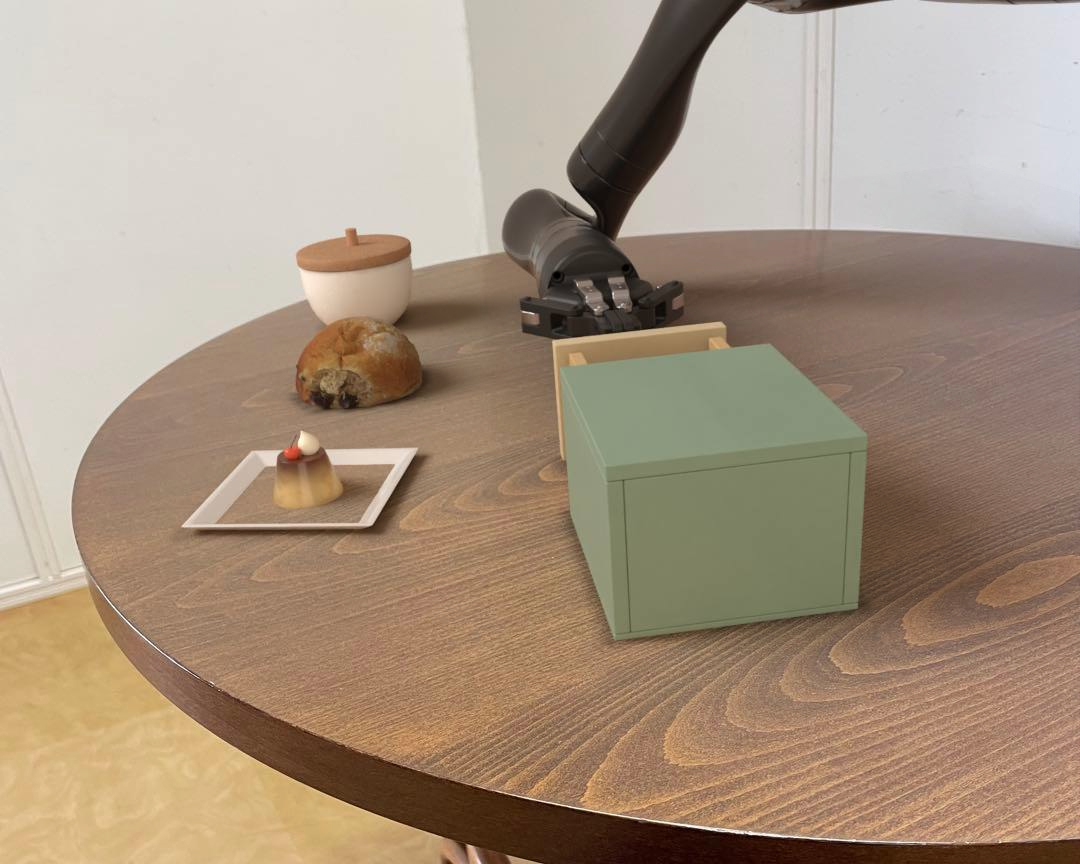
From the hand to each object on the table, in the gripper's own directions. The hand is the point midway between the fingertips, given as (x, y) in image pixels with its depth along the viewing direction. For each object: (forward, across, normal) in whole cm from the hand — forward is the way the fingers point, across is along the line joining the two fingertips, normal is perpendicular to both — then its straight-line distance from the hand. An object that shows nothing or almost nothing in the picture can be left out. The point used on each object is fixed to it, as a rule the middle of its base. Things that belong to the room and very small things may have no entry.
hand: (624, 339), depth 76 cm
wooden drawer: (+9, 0, +6) cm, 11 cm away
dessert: (+5, -22, +7) cm, 24 cm away
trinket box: (-35, -19, +7) cm, 40 cm away
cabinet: (+20, 0, +7) cm, 21 cm away
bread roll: (-15, -19, +7) cm, 25 cm away
